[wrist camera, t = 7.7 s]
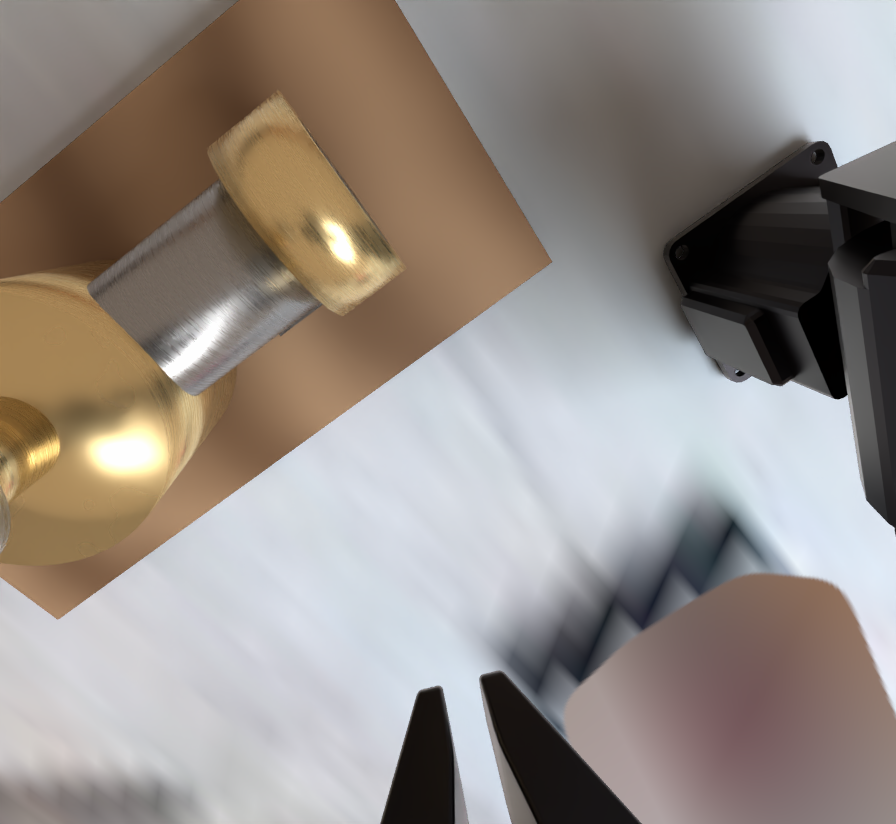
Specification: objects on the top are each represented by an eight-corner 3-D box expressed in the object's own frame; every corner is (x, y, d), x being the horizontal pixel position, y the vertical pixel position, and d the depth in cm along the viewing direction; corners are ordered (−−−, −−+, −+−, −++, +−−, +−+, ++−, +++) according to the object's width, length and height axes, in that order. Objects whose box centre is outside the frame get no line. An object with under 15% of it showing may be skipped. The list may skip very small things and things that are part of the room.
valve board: (345, -62, 16) (342, -88, 14) (539, 258, 20) (552, 262, 18) (-189, 387, 18) (-235, 402, 17) (77, 593, 22) (58, 619, 21)
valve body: (282, 91, 16) (175, -41, 7) (415, 276, 18) (448, 337, 10) (-152, 447, 18) (-630, 662, 9) (15, 573, 20) (-247, 840, 12)
